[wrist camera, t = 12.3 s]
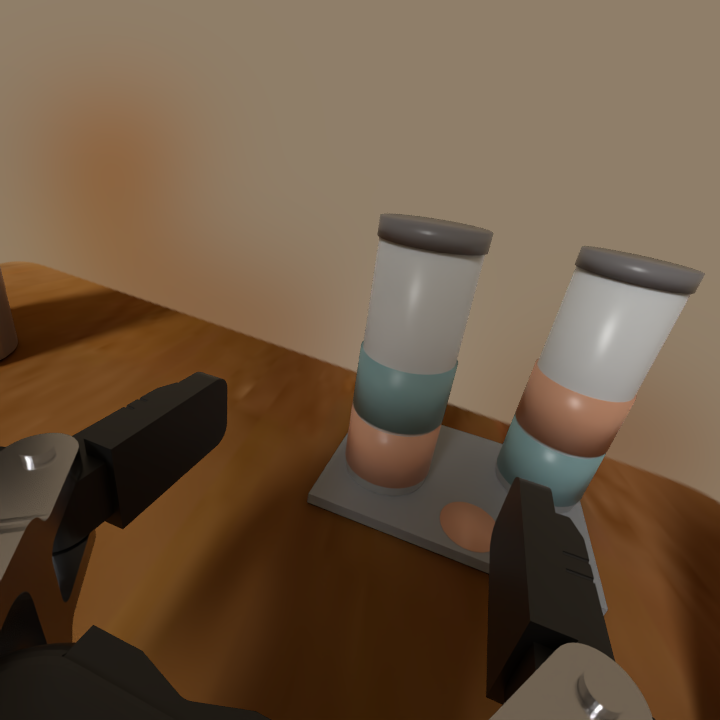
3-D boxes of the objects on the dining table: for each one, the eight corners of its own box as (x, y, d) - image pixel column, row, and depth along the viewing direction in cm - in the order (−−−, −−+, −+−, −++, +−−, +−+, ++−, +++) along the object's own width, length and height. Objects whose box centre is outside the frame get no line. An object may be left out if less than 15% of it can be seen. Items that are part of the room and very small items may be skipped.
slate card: (307, 502, 20) (308, 492, 20) (366, 408, 29) (367, 400, 28) (601, 618, 17) (608, 609, 16) (567, 473, 25) (571, 465, 25)
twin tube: (493, 495, 22) (593, 254, 16) (494, 446, 26) (573, 242, 20) (585, 527, 21) (728, 282, 15) (570, 471, 25) (678, 262, 19)
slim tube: (330, 478, 21) (365, 216, 15) (360, 430, 25) (395, 211, 19) (418, 509, 20) (491, 239, 14) (433, 454, 24) (494, 228, 18)
